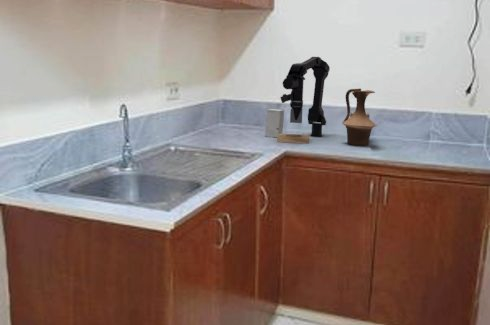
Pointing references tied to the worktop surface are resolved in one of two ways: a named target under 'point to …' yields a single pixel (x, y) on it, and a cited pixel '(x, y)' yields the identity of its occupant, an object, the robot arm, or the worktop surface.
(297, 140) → the post socket
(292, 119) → the dark grey rectangular prism
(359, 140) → the pitcher
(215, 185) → the worktop surface
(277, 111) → the skincare box
